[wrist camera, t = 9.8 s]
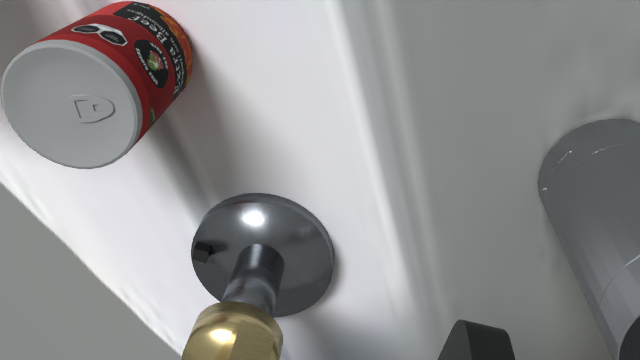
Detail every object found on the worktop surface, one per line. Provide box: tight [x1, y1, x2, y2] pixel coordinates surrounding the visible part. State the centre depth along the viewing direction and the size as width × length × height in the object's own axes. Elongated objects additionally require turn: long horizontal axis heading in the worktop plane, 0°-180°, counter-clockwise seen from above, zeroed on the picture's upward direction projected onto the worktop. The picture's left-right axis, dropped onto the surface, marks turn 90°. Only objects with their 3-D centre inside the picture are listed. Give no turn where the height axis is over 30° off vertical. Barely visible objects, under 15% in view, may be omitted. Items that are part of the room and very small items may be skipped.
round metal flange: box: [191, 193, 334, 317], centre depth 45 cm, size 12×12×10 cm
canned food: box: [1, 1, 192, 169], centre depth 36 cm, size 8×8×11 cm
